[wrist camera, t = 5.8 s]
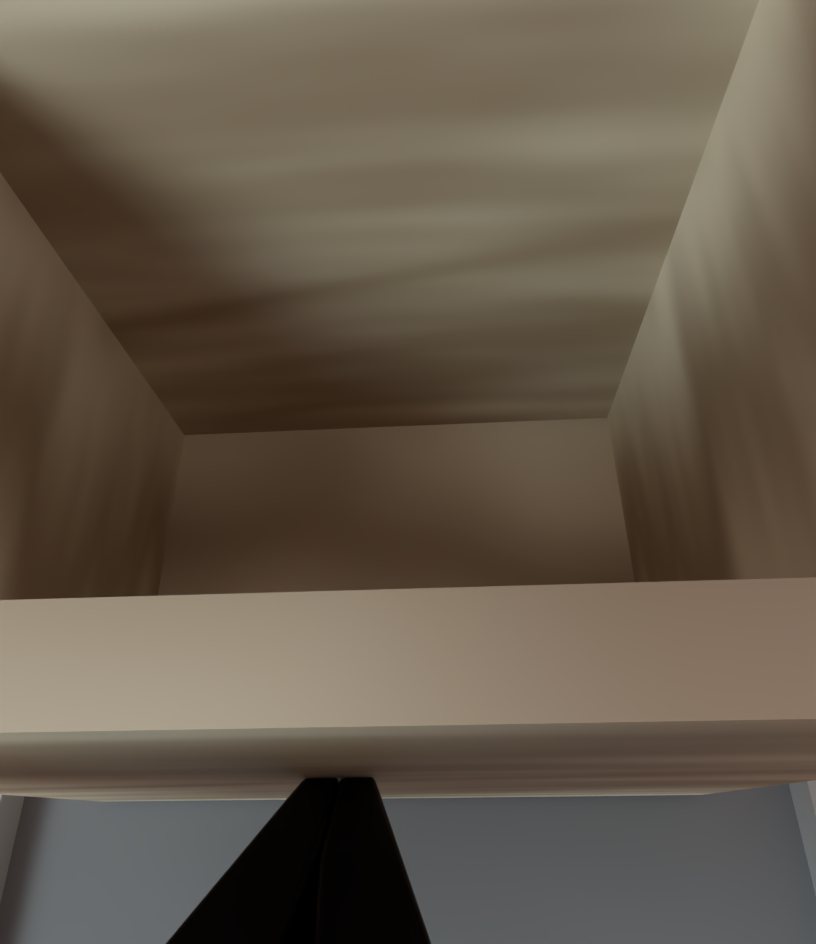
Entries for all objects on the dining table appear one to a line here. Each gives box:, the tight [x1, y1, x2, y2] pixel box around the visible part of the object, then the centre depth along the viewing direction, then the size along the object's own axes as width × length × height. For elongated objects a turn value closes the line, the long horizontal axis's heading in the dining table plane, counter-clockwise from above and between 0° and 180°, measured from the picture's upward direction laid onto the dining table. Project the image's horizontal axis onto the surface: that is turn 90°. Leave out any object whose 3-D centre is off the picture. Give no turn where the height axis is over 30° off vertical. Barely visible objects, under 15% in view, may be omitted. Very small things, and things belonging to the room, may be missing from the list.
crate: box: [0, 0, 816, 802], centre depth 11 cm, size 9×12×11 cm
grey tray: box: [0, 780, 816, 944], centre depth 12 cm, size 22×18×7 cm
